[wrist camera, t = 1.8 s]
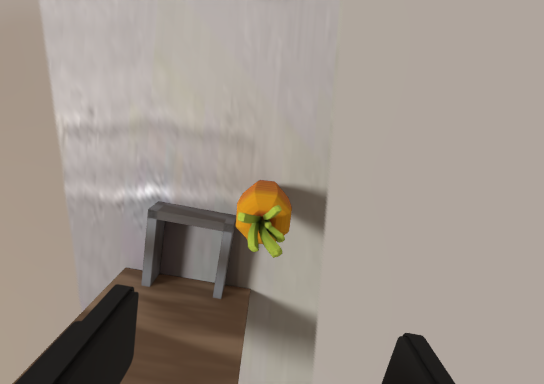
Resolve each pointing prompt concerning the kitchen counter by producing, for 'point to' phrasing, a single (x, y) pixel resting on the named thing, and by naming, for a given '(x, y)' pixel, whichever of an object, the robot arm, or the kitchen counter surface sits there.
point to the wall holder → (183, 310)
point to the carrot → (264, 216)
